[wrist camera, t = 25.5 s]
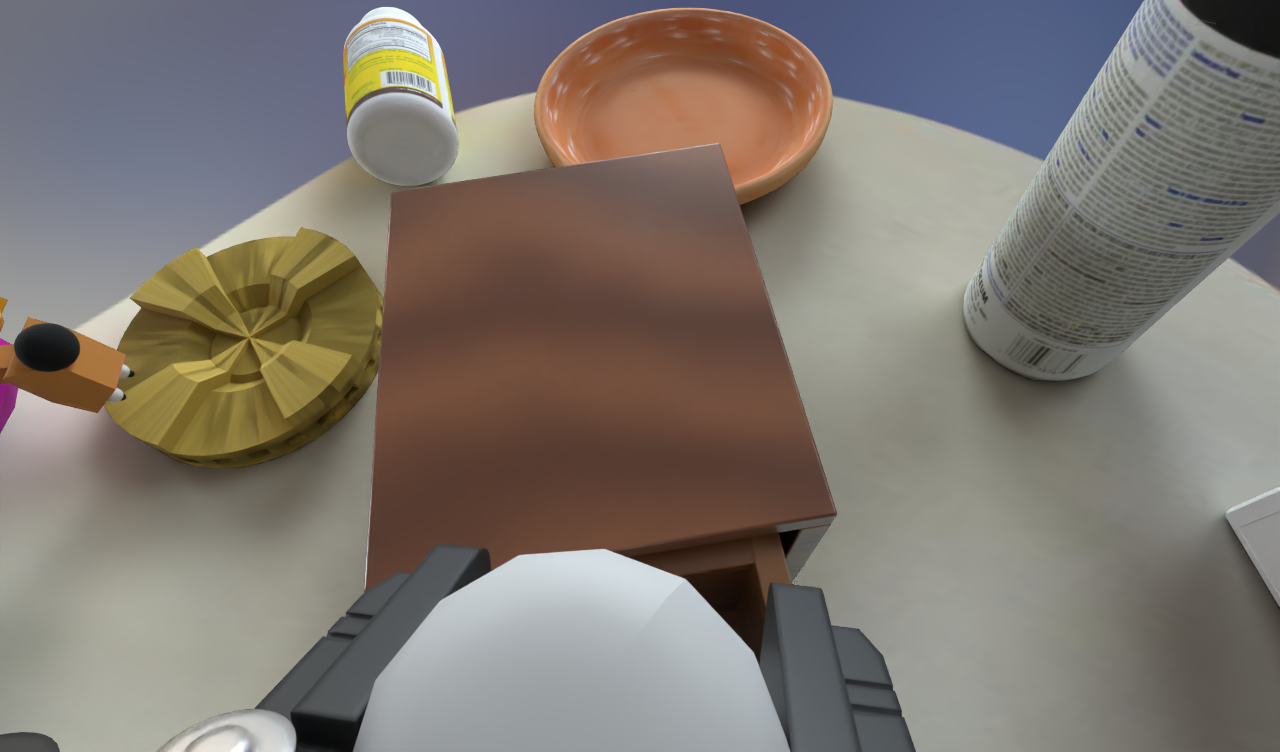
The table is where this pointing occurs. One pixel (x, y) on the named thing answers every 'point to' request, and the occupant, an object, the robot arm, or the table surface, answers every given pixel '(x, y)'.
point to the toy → (58, 368)
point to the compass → (249, 350)
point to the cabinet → (584, 371)
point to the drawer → (731, 579)
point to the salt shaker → (572, 667)
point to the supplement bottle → (398, 100)
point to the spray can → (1138, 190)
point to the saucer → (688, 95)
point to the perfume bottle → (1261, 535)
